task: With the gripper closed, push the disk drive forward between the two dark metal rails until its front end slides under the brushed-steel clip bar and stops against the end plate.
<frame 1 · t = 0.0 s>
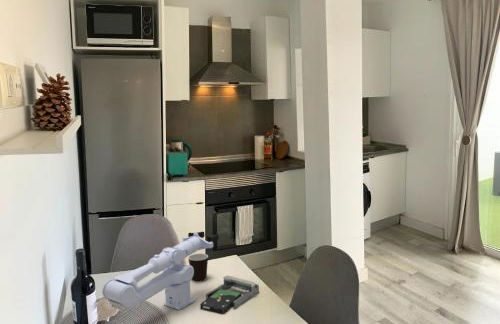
hand: (210, 235, 173), 22 cm above the table, tool horizontal, fingers open, 7 cm apart
disk drive: (221, 305, 158), on the table
coffee mug: (199, 277, 184), on the table
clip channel: (232, 296, 164), on the table
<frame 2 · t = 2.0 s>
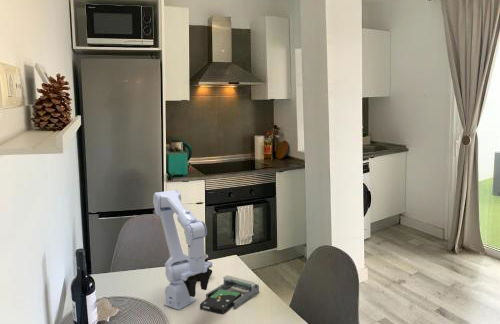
hand: (198, 292, 147), 9 cm above the table, tool pointing down, fingers open, 6 cm apart
nothing on the table moved.
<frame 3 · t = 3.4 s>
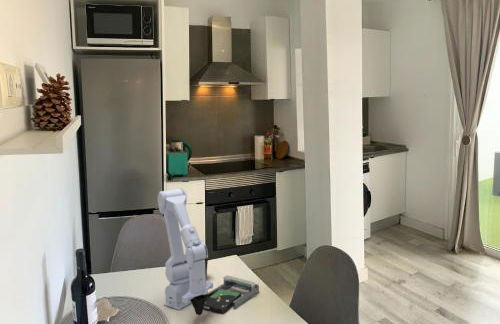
hand: (199, 313, 148), 1 cm above the table, tool pointing down, fingers closed
nothing on the table moved.
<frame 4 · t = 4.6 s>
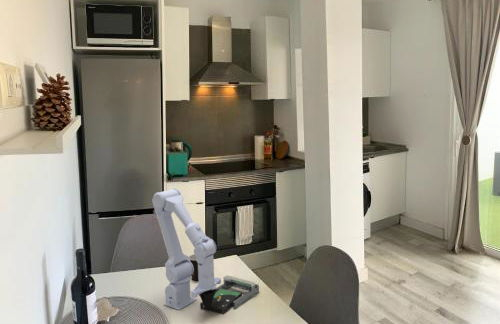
hand: (207, 308, 151), 1 cm above the table, tool pointing down, fingers closed
disk drive: (221, 304, 158), on the table, touching gripper
everything else where it was.
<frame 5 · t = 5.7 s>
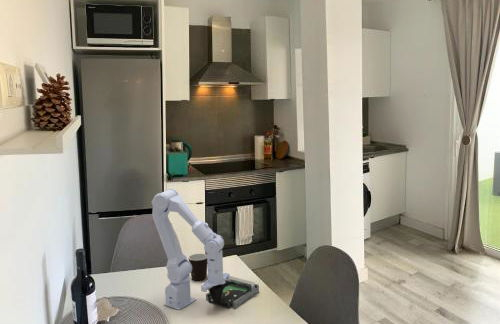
hand: (216, 302, 156), 1 cm above the table, tool pointing down, fingers closed
disk drive: (230, 299, 163), on the table
everything else where it was.
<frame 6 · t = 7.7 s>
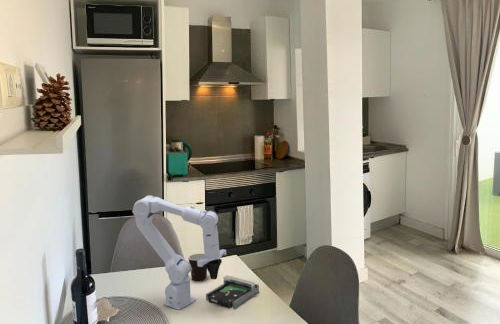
hand: (213, 278, 157), 10 cm above the table, tool pointing down, fingers closed
nothing on the table moved.
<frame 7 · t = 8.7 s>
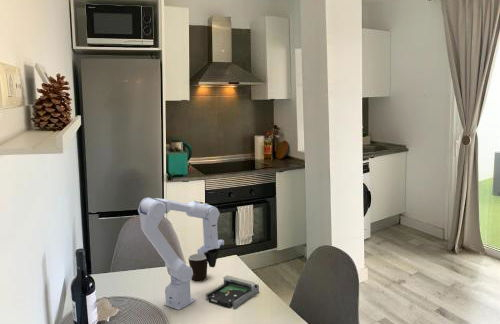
hand: (212, 266, 168), 10 cm above the table, tool pointing down, fingers closed
nothing on the table moved.
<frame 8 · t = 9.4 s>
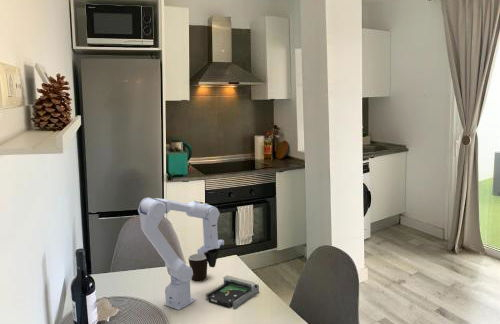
hand: (212, 266, 168), 10 cm above the table, tool pointing down, fingers closed
nothing on the table moved.
at the end: disk drive 0.9 cm from the target spot, on the table; disk drive tilted 0°; disk drive moved 5.5 cm from its start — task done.
